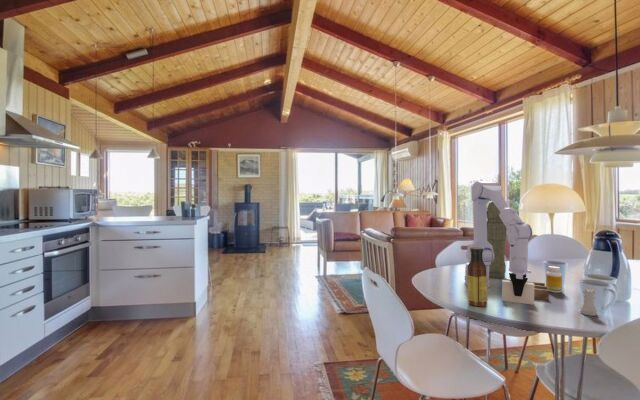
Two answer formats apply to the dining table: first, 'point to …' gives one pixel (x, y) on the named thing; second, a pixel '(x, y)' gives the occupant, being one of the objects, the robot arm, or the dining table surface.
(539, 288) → the rack
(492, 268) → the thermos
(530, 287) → the beige rectangular block
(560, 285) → the supplement bottle
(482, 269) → the sauce bottle
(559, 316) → the dining table surface
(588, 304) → the rook chess piece
